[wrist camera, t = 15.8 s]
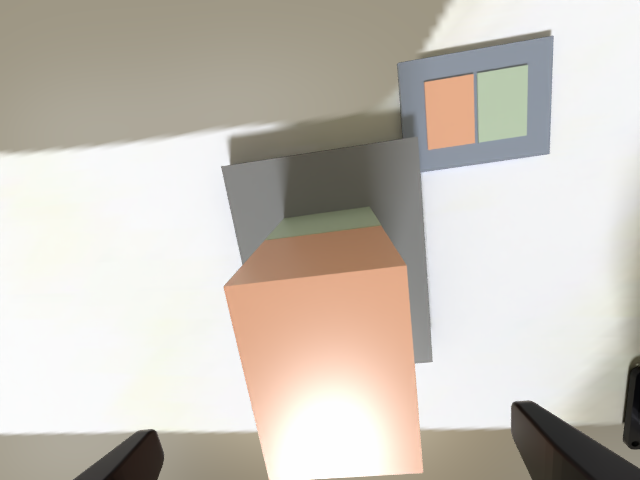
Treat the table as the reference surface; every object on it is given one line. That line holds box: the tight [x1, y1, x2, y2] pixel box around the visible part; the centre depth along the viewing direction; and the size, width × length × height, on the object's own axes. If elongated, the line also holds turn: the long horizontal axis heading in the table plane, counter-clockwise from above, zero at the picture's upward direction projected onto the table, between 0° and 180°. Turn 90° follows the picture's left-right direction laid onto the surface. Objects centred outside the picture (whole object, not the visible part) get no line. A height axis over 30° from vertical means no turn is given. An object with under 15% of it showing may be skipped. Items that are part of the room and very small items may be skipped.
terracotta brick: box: [224, 226, 423, 480], centre depth 12 cm, size 7×5×5 cm
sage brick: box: [265, 207, 381, 240], centre depth 16 cm, size 7×5×5 cm
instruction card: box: [397, 36, 554, 172], centre depth 17 cm, size 6×8×1 cm
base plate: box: [221, 137, 432, 363], centre depth 20 cm, size 14×11×2 cm
